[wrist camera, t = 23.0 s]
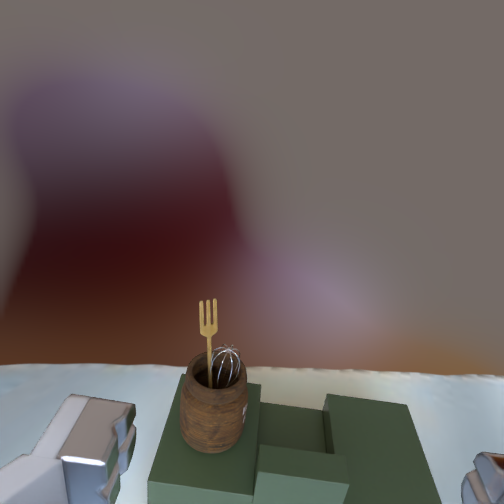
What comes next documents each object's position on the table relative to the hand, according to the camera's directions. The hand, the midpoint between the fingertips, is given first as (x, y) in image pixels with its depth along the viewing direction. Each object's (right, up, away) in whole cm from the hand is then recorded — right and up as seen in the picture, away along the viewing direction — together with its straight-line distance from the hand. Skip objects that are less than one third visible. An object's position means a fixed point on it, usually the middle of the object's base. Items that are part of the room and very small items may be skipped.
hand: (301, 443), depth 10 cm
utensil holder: (-5, -12, +27) cm, 30 cm away
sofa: (+2, -19, +30) cm, 36 cm away
